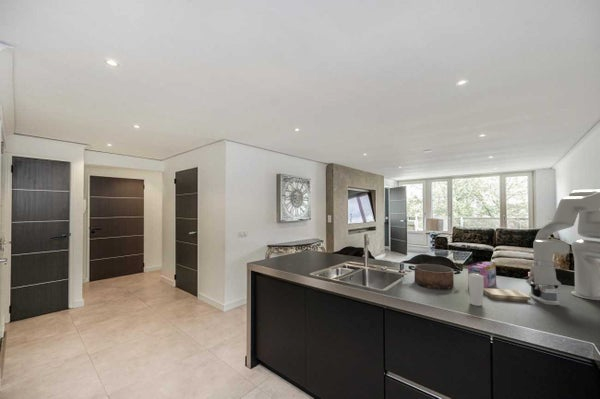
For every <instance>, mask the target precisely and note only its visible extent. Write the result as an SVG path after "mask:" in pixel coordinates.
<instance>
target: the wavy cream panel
mask: <svg viewBox="0 0 600 399" xmlns="http://www.w3.org/2000/svg"><path fill="white" fill-rule="evenodd" d="M483 293H484V295H486V296H487V297H489V298H490V299H491V300H494V301H495V300H496V301H506V300H508V301H507V302H520V301H521V302H522V303H527V302H528V301H531V300H532V297H530V296H529V295H527V294H525V293H524V292H523V291H520V290H518V289H505V288H502V289H501V288H490V287H488V288H484V289H483Z"/></svg>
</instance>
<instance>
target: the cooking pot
mask: <svg viewBox="0 0 600 399" xmlns="http://www.w3.org/2000/svg"><path fill="white" fill-rule="evenodd" d="M408 270H410V271H414V283H415V284H416V285H417V286H419V287H422V288H426V289H429V290H436V291H437V290H438V291H439V290H440V291H447V290H452V289H453V288H454V286H455V285H454V282H455V280H454V277H455V276H454V275H460V274H461V271H460V270H459V269H453V268H451V267H449V266H445V265H441V264H434V263H433V264H432V263H420V264H415V265H408Z"/></svg>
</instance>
